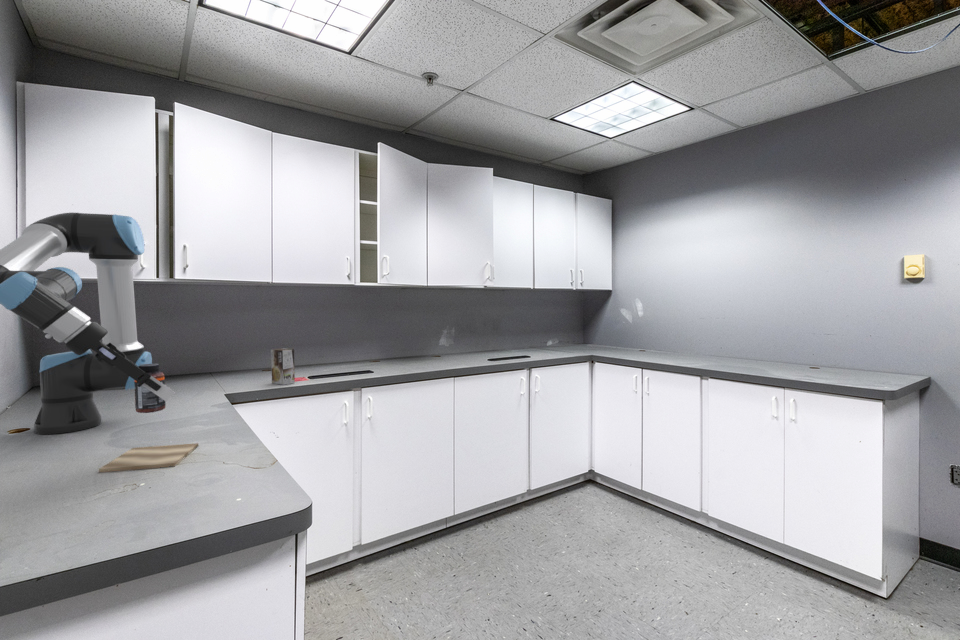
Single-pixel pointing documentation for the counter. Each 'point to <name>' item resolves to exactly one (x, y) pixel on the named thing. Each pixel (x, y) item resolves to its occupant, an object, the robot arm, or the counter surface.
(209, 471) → the counter surface
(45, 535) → the counter surface
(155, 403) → the supplement bottle
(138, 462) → the oak pad
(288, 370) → the coffee box
